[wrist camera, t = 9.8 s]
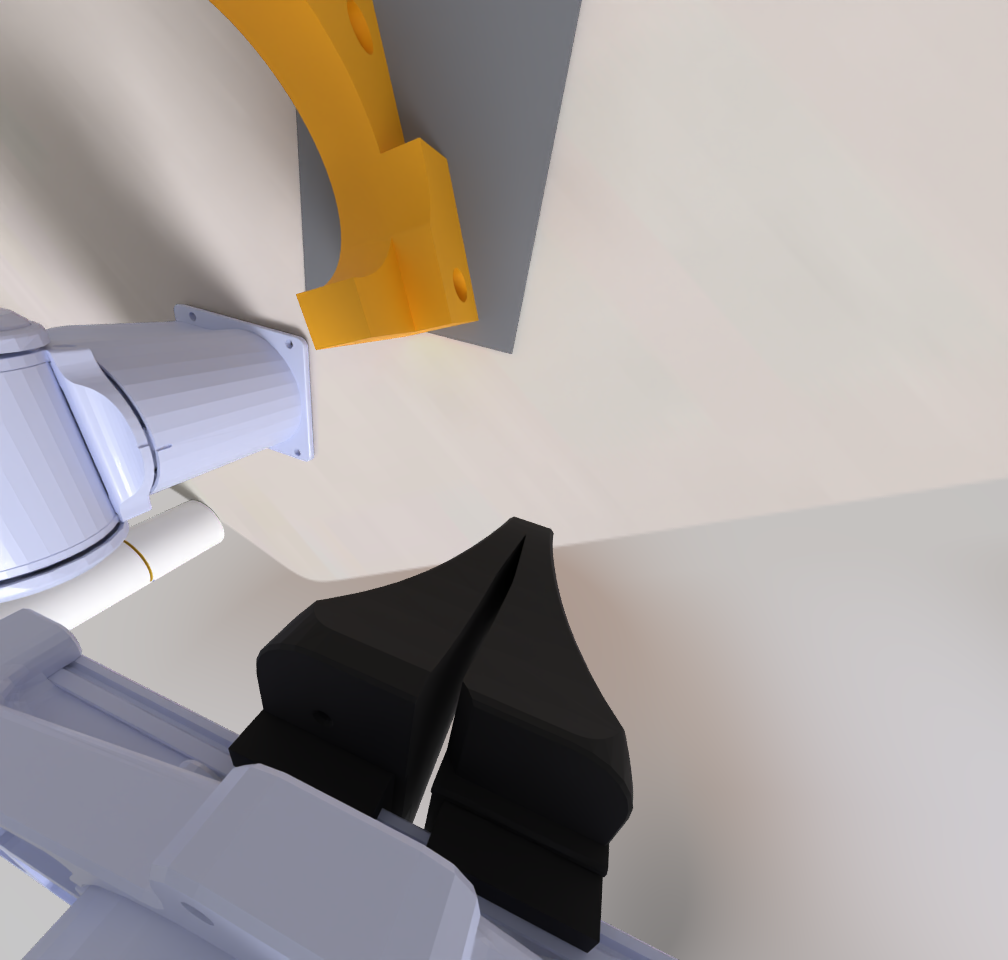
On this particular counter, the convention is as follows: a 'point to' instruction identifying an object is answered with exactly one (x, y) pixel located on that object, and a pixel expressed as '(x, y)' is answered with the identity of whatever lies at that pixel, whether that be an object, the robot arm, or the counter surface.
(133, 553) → the tube
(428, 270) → the pipe clamp
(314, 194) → the mat
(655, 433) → the counter surface
